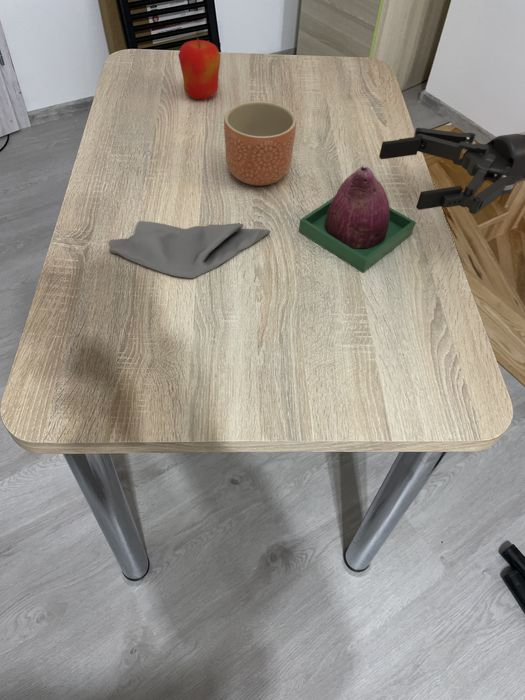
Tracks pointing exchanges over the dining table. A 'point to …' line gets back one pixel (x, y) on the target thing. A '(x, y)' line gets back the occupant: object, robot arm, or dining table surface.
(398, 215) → the green tray
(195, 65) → the apple
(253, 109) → the planter
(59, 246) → the dining table surface
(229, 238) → the cloth
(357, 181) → the vegetable
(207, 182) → the dining table surface
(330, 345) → the dining table surface
